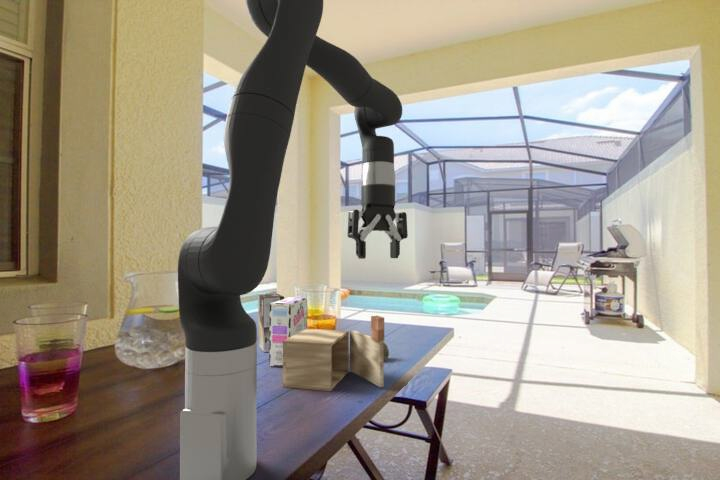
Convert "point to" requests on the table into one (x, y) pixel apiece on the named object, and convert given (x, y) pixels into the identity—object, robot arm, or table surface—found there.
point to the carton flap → (368, 352)
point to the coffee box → (265, 318)
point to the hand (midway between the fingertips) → (378, 258)
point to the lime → (385, 352)
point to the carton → (315, 359)
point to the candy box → (285, 325)
